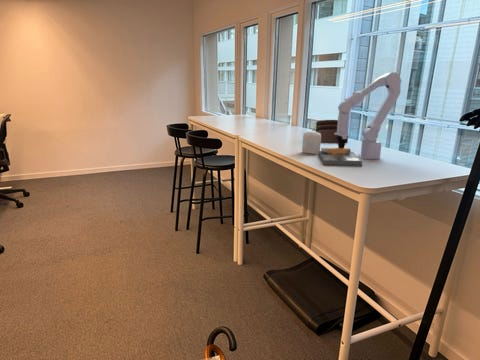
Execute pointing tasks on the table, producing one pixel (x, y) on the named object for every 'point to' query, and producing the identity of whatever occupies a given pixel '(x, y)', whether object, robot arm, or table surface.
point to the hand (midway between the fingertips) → (340, 150)
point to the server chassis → (340, 159)
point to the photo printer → (311, 142)
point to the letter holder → (328, 130)
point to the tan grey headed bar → (335, 150)
